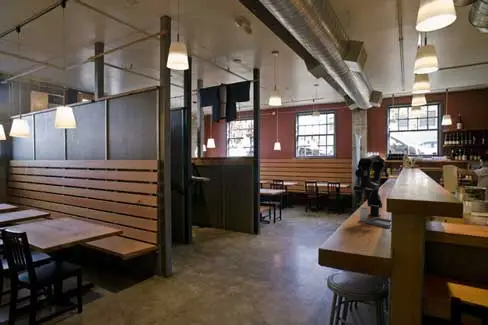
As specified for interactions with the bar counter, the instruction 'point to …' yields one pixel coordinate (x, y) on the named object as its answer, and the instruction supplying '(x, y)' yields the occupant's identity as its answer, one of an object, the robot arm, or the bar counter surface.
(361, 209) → the ceramic cup
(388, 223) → the tray
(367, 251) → the bar counter surface
